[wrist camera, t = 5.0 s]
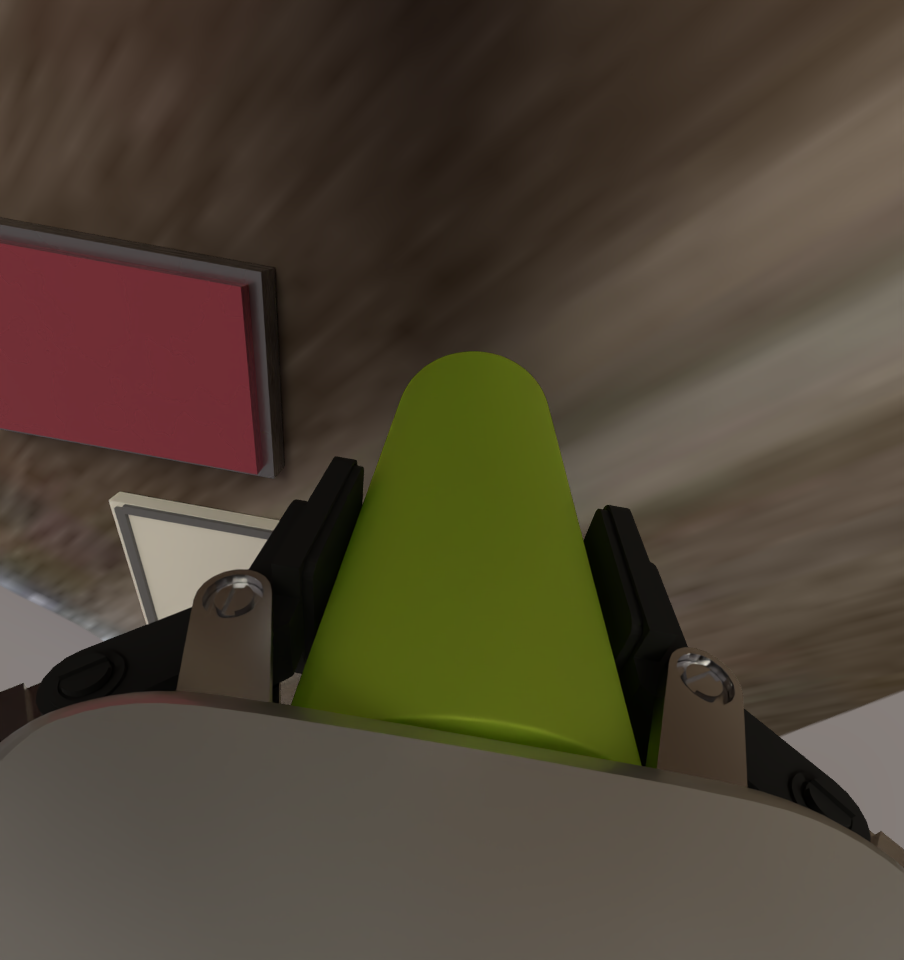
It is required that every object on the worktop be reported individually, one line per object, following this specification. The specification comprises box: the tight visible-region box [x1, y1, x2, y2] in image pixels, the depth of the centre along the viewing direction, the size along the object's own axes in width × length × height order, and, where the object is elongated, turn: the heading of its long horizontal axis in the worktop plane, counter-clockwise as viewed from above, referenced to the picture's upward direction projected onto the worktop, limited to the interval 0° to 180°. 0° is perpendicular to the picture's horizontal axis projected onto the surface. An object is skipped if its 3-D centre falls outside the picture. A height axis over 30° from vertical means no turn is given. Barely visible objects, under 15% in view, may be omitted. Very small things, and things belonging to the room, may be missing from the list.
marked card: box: [109, 492, 280, 625], centre depth 27 cm, size 10×14×1 cm
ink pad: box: [0, 217, 285, 479], centre depth 19 cm, size 9×14×2 cm, turn 81°
